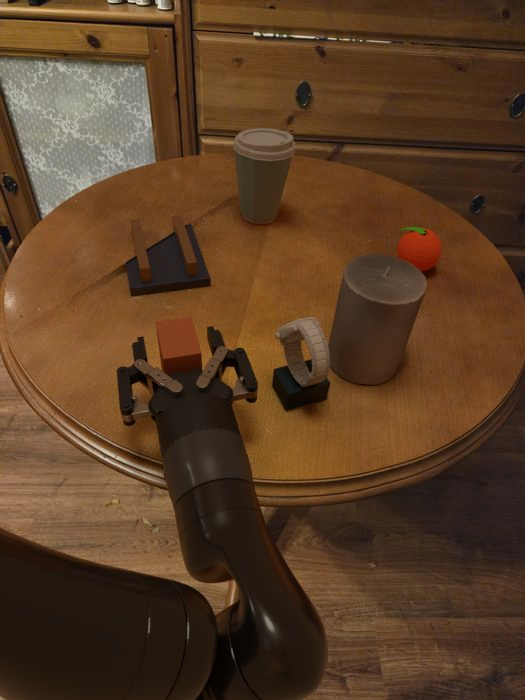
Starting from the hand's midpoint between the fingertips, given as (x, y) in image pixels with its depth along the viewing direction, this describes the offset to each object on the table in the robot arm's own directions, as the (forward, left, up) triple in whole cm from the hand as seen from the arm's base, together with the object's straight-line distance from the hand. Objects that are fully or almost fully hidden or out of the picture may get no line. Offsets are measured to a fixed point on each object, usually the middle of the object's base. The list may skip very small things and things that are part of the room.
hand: (175, 337), depth 56 cm
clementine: (+14, +43, -8) cm, 45 cm away
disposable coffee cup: (-15, +41, -8) cm, 44 cm away
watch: (+13, +8, -8) cm, 17 cm away
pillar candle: (+17, +18, -8) cm, 26 cm away
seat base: (-19, +19, -8) cm, 28 cm away
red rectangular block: (+2, -1, -8) cm, 8 cm away
